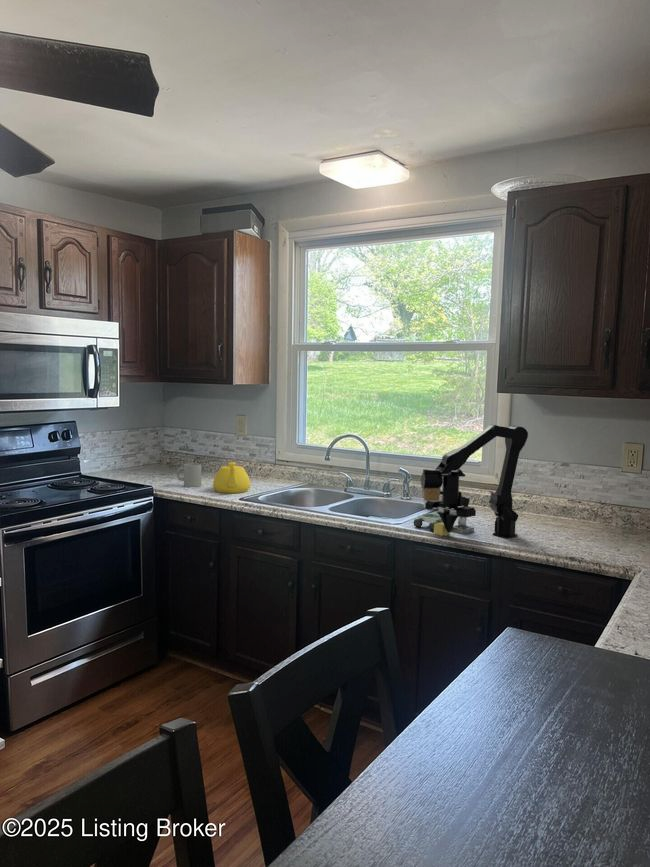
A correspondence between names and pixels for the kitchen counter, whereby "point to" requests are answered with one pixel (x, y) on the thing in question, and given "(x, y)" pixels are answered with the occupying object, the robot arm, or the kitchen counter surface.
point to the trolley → (428, 520)
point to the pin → (462, 522)
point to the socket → (460, 530)
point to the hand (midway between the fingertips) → (449, 532)
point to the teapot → (231, 479)
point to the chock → (440, 529)
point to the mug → (191, 474)
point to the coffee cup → (431, 495)
